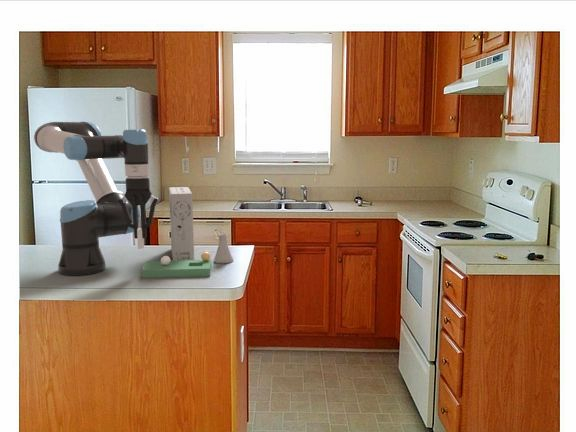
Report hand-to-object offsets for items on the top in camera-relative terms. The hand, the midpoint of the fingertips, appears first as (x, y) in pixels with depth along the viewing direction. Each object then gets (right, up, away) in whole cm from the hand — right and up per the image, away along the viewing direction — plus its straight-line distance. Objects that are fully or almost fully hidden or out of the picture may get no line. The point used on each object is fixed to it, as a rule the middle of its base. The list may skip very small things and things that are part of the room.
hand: (141, 247), depth 176 cm
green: (+12, -8, +3) cm, 15 cm away
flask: (+25, -6, +17) cm, 31 cm away
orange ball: (+20, -3, +7) cm, 22 cm away
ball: (+8, -4, +2) cm, 9 cm away
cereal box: (+8, -4, +27) cm, 29 cm away
